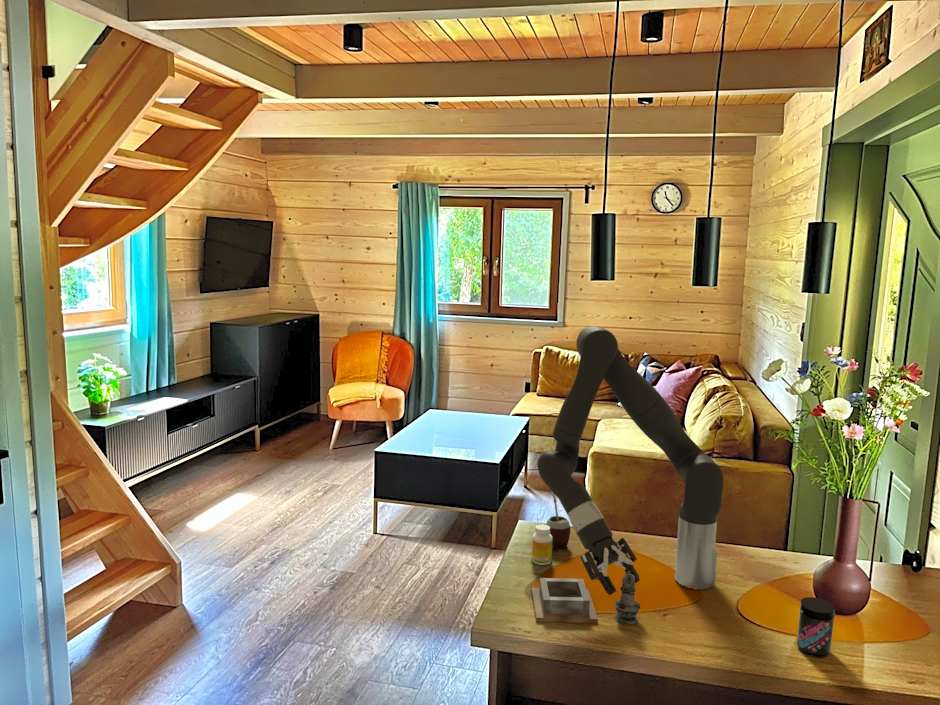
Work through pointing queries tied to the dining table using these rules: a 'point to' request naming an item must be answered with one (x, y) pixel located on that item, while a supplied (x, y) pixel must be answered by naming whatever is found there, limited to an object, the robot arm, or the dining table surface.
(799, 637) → the supplement container
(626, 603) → the grey tall ringed piece
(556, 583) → the block
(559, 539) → the mate gourd
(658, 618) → the dining table surface
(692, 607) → the dining table surface
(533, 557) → the supplement bottle
